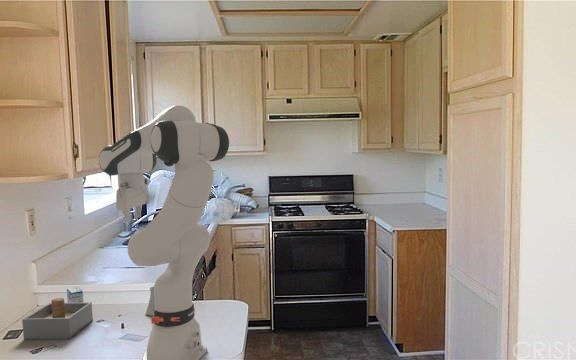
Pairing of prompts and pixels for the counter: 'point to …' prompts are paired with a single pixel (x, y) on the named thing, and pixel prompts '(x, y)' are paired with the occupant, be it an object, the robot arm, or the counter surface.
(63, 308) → the wooden peg
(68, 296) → the medicine box
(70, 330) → the storage box
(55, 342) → the counter surface
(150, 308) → the flask
